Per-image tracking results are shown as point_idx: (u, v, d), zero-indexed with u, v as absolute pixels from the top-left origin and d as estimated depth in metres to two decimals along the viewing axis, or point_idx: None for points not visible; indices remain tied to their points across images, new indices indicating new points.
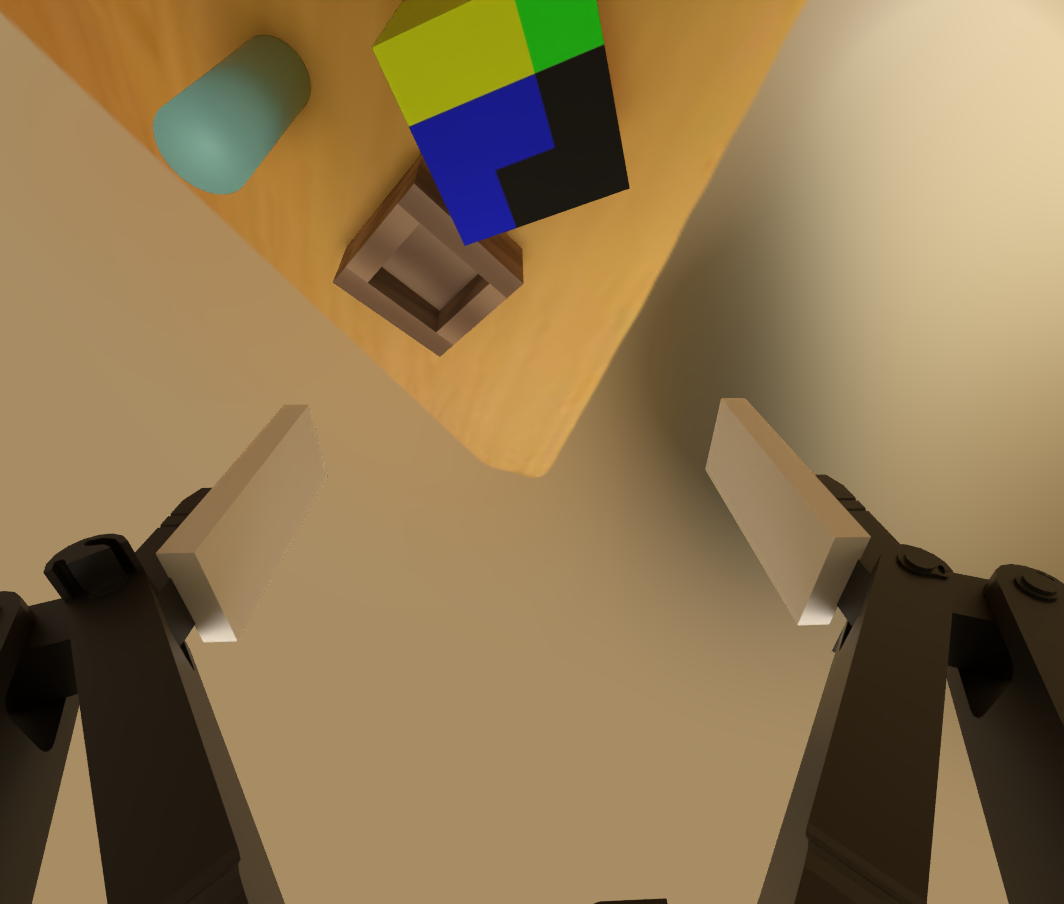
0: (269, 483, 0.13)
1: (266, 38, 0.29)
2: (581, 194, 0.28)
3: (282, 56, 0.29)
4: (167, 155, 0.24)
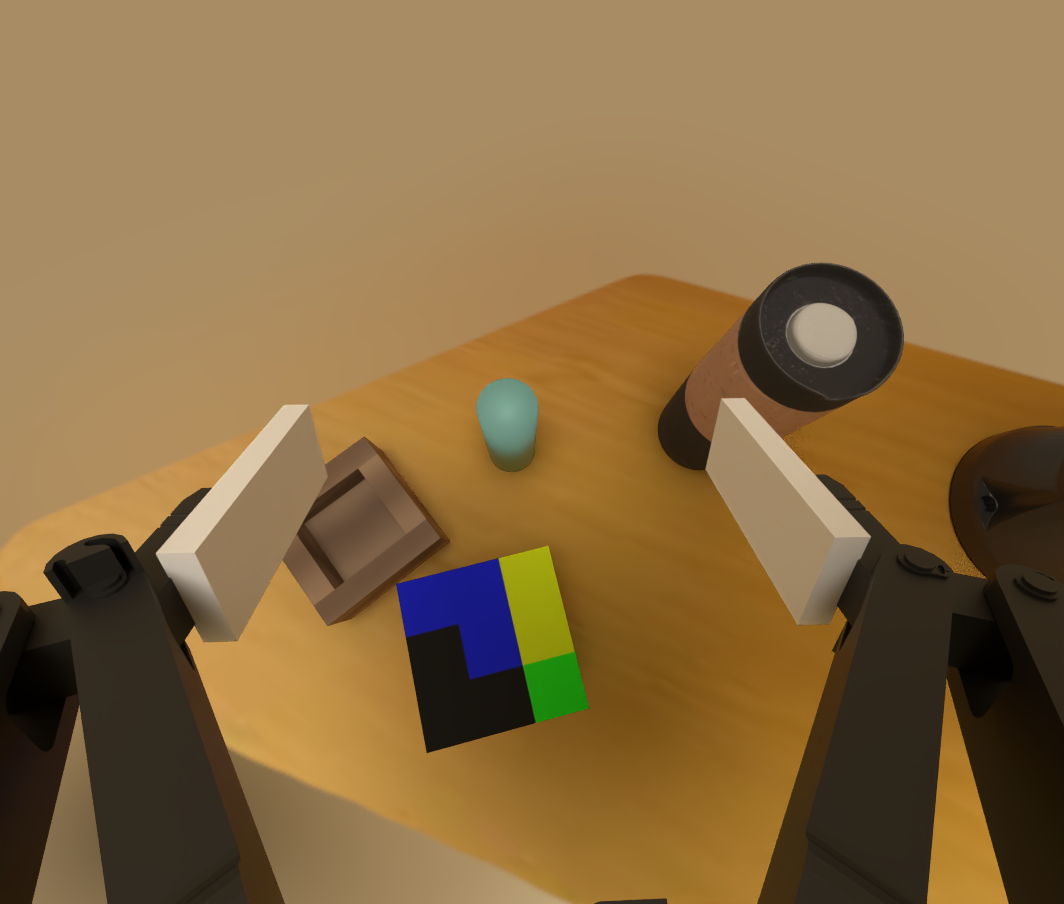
0: (268, 483, 0.13)
1: (533, 454, 0.43)
2: (427, 704, 0.30)
3: (526, 462, 0.42)
4: (507, 381, 0.33)
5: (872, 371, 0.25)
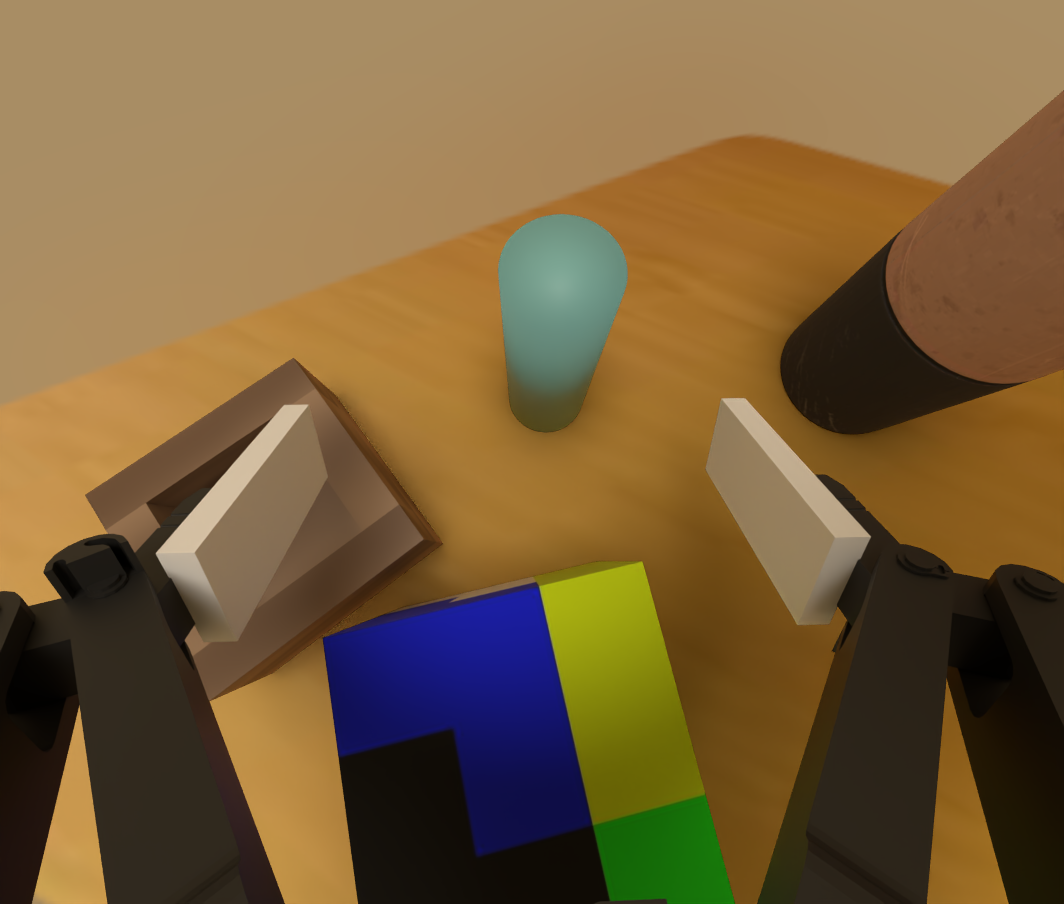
0: (268, 484, 0.13)
1: None
2: None
3: (572, 414, 0.25)
4: (562, 221, 0.16)
5: None
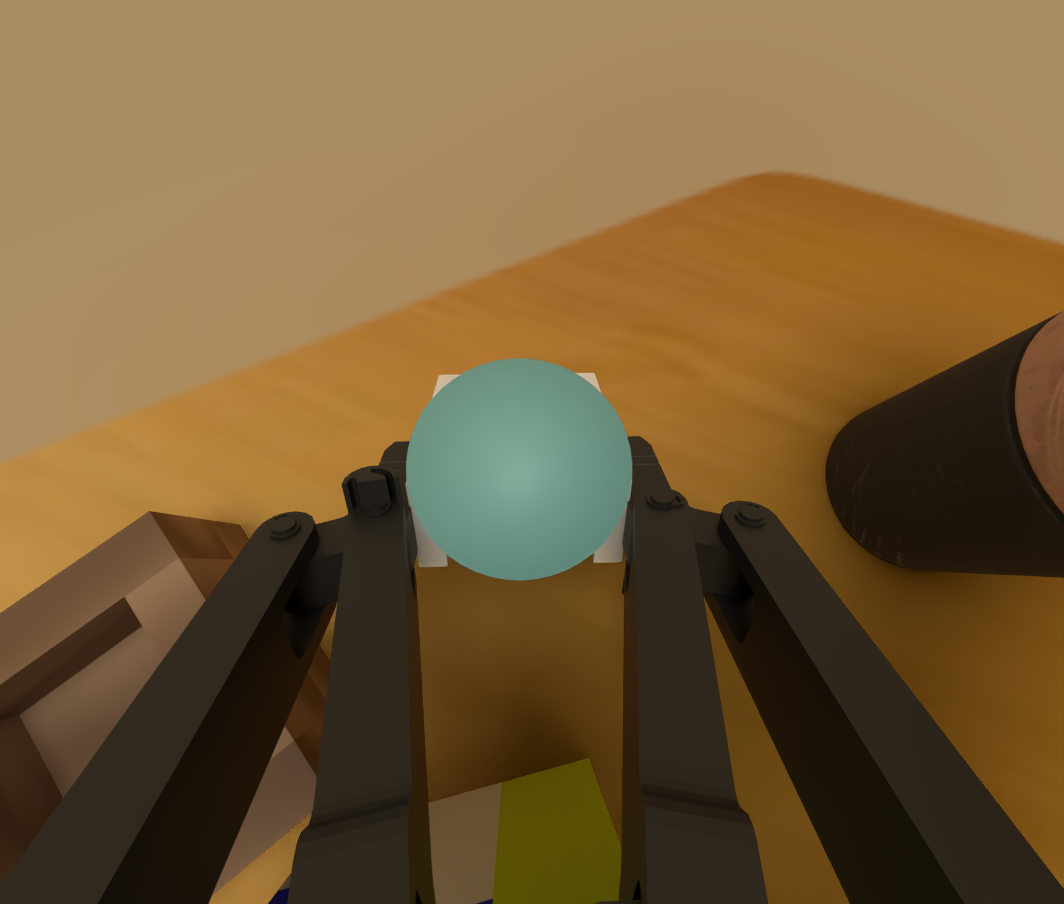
0: None
1: None
2: None
3: None
4: (518, 371, 0.09)
5: None
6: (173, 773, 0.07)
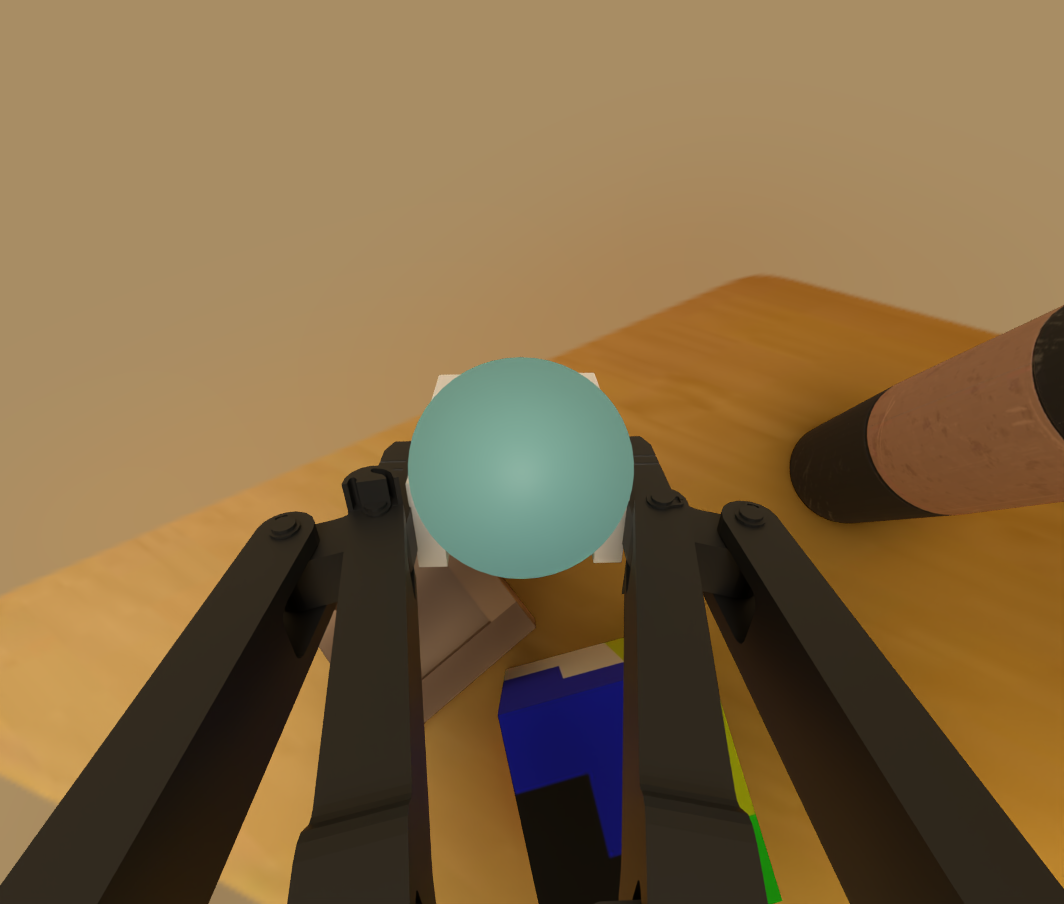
0: None
1: None
2: (551, 897, 0.21)
3: None
4: (520, 369, 0.09)
5: None
6: (173, 773, 0.07)
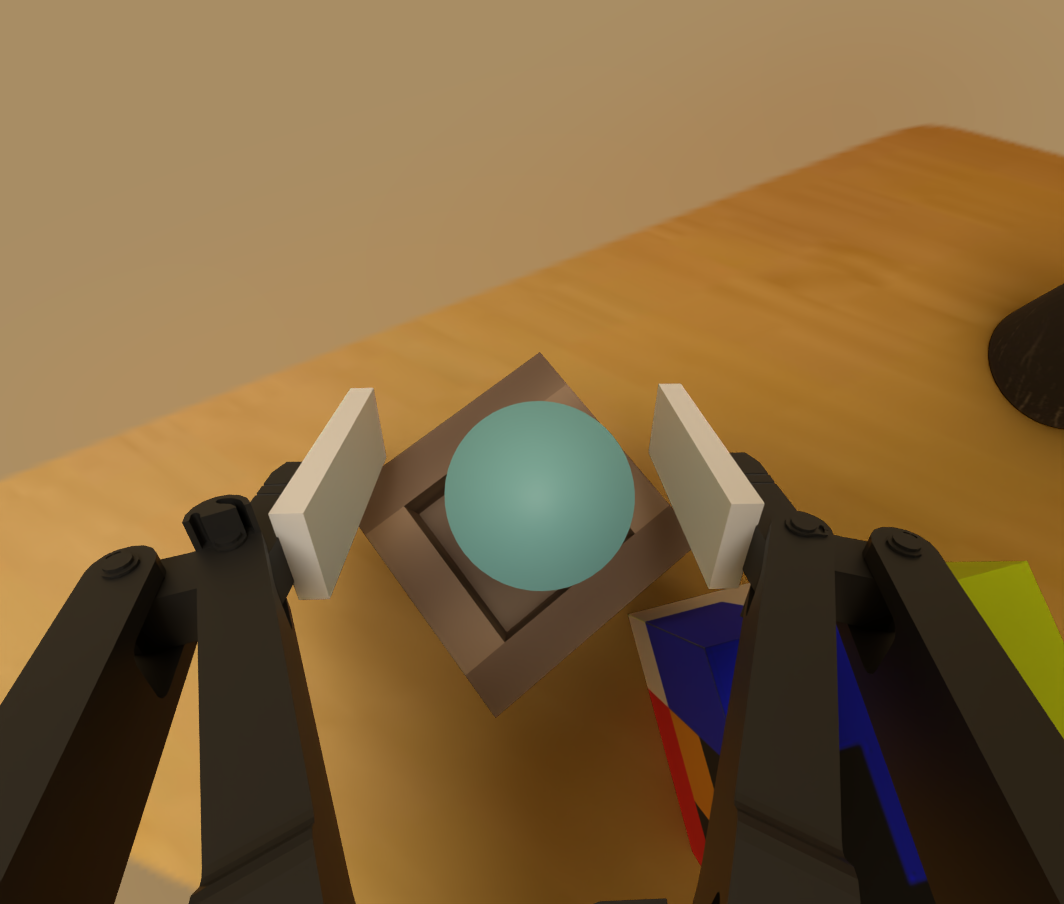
0: (348, 458, 0.14)
1: None
2: None
3: None
4: (539, 412, 0.11)
5: None
6: (22, 839, 0.06)
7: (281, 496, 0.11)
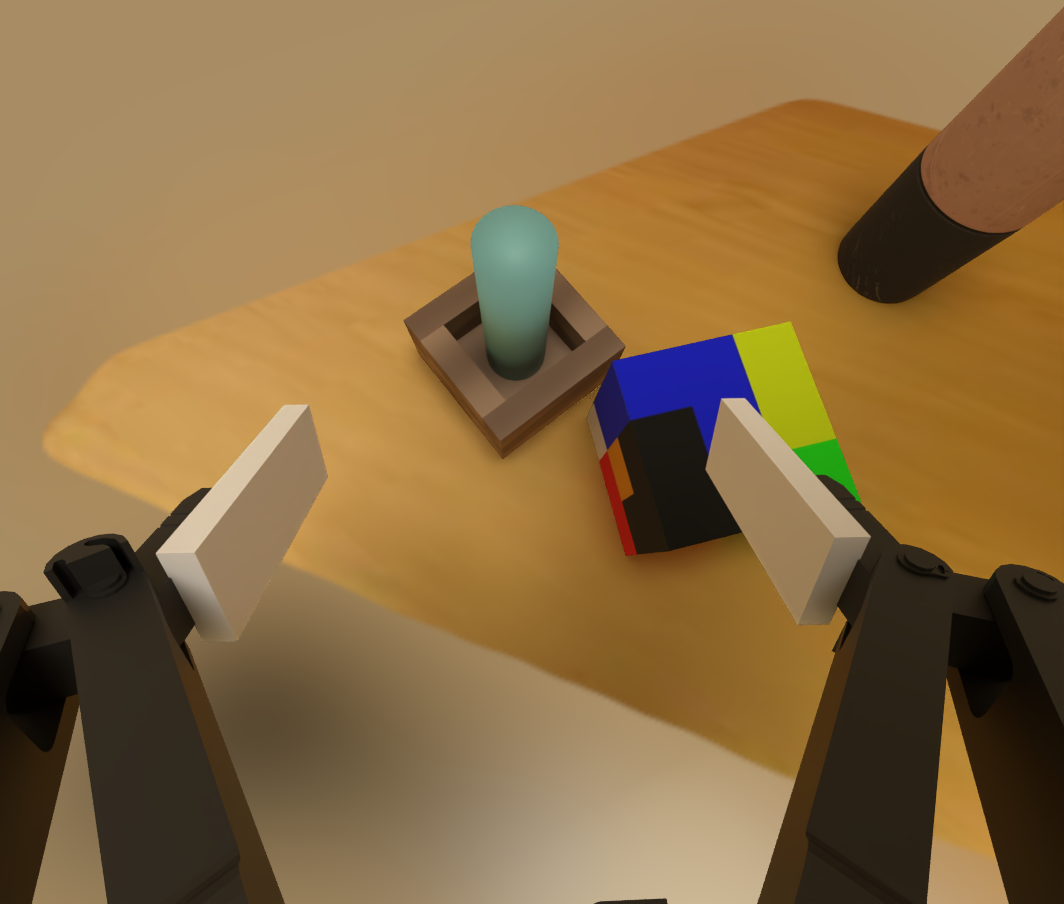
0: (268, 484, 0.13)
1: None
2: (664, 495, 0.24)
3: (535, 363, 0.32)
4: (514, 209, 0.23)
5: None
6: None
7: (176, 532, 0.10)
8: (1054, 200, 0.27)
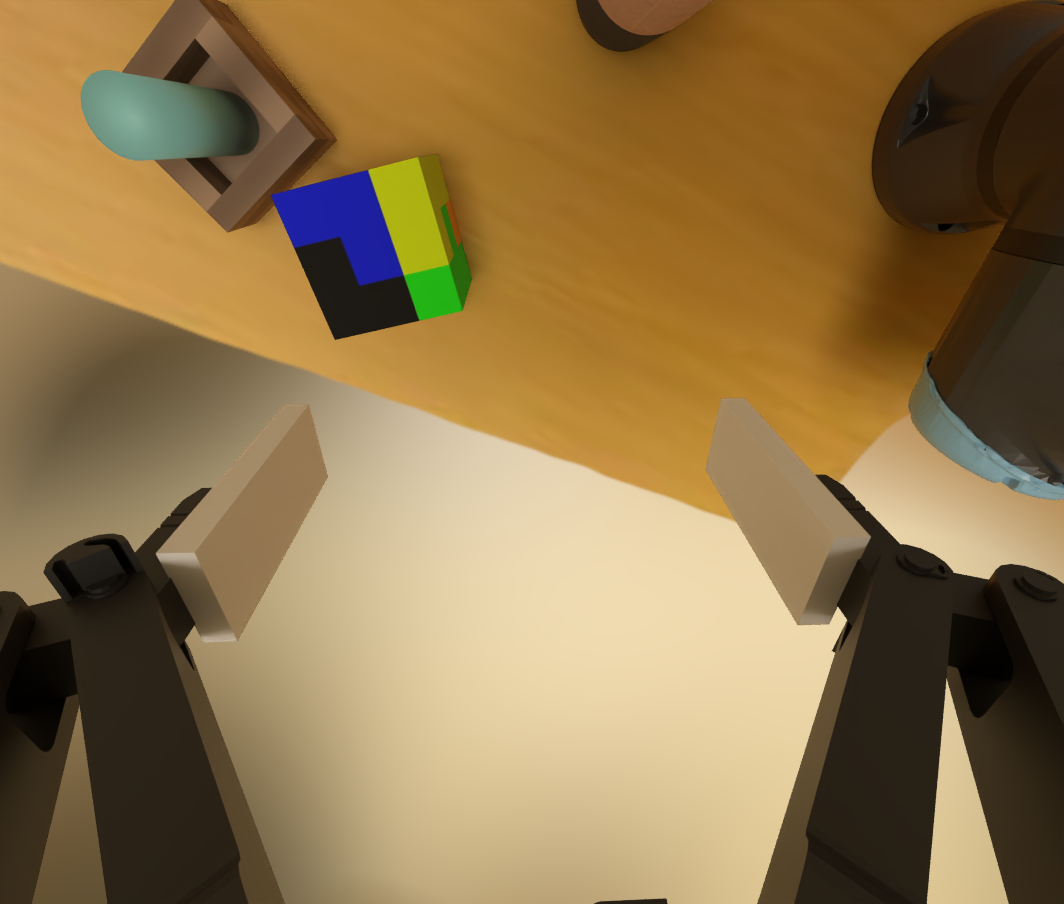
0: (268, 484, 0.13)
1: (255, 133, 0.37)
2: (327, 304, 0.36)
3: (242, 149, 0.36)
4: (108, 76, 0.26)
5: None
6: None
7: (176, 532, 0.10)
8: (671, 24, 0.27)
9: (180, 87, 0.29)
